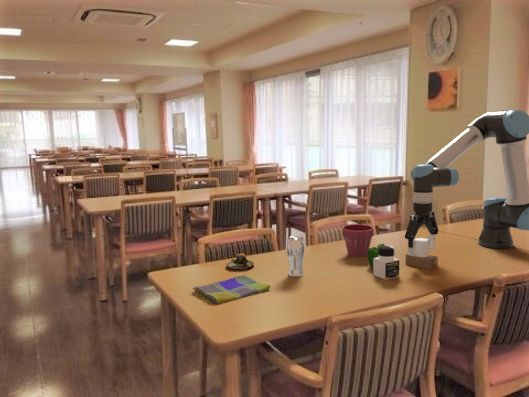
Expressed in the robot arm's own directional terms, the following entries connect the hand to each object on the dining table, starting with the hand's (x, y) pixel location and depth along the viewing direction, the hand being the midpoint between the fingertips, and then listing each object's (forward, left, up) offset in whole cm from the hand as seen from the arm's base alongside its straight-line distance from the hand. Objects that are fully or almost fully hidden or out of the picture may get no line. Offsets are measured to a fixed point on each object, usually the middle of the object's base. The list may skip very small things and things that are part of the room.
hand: (421, 252), depth 191 cm
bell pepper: (+16, -10, -6) cm, 20 cm away
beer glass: (+48, -25, -6) cm, 54 cm away
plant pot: (+7, -29, -6) cm, 30 cm away
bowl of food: (+59, -49, -6) cm, 77 cm away
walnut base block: (0, 0, -5) cm, 5 cm away
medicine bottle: (+23, 0, -6) cm, 24 cm away
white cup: (0, 0, -2) cm, 2 cm away
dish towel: (+78, -26, -6) cm, 83 cm away
